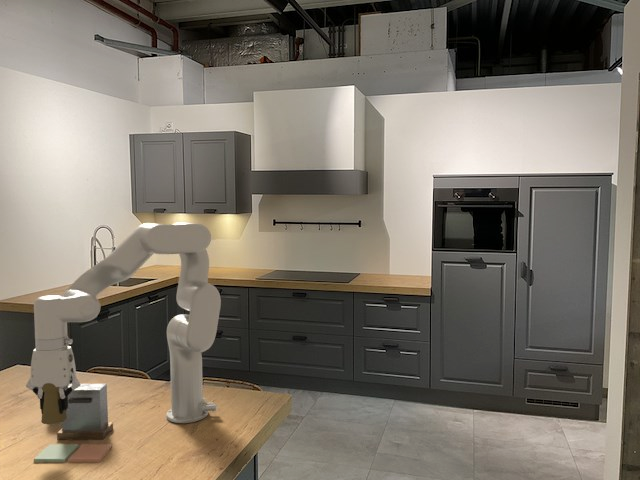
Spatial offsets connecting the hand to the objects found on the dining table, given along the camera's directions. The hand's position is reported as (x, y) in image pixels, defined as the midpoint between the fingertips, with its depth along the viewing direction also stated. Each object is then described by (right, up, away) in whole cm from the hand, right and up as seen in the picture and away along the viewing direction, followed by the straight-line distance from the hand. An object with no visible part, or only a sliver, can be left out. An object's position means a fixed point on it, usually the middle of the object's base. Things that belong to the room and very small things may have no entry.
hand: (54, 411), depth 142 cm
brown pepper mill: (0, -2, 0) cm, 2 cm away
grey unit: (+3, -11, +13) cm, 17 cm away
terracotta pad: (+9, -12, +1) cm, 15 cm away
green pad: (0, -12, +1) cm, 12 cm away
